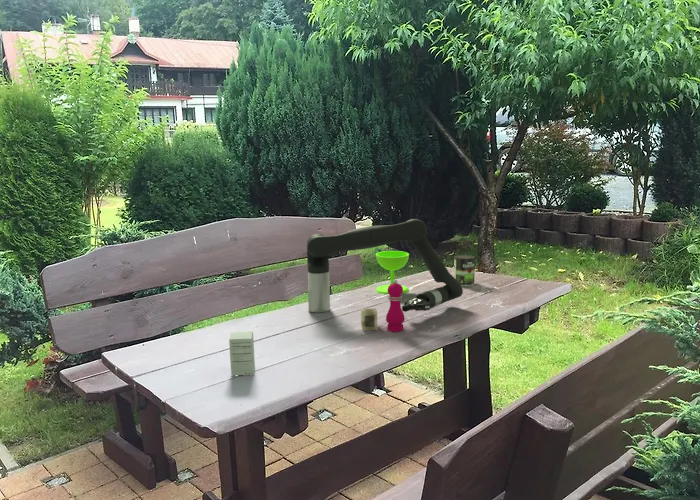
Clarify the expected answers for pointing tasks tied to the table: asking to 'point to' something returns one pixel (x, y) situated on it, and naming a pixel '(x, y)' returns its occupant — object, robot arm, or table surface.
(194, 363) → the table surface
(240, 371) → the supplement box
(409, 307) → the robot arm
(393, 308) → the pepper mill
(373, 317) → the pale yellow cube-like block
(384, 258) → the wineglass
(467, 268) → the coffee can
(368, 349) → the table surface
